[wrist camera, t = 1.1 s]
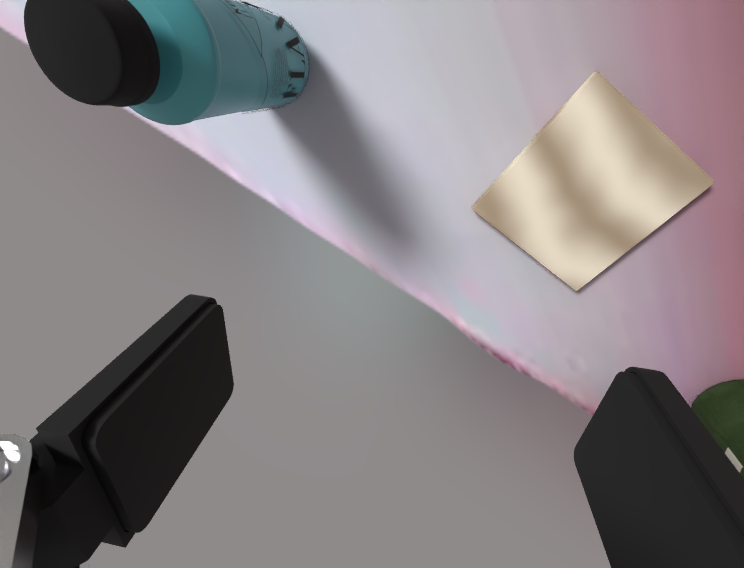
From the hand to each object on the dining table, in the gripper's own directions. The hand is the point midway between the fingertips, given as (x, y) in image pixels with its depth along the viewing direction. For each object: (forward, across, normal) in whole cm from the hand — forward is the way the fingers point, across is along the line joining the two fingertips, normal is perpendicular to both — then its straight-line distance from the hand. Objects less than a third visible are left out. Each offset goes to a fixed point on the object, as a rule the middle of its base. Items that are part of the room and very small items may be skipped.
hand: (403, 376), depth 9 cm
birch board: (+27, -13, +1) cm, 30 cm away
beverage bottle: (+27, +14, -6) cm, 31 cm away
